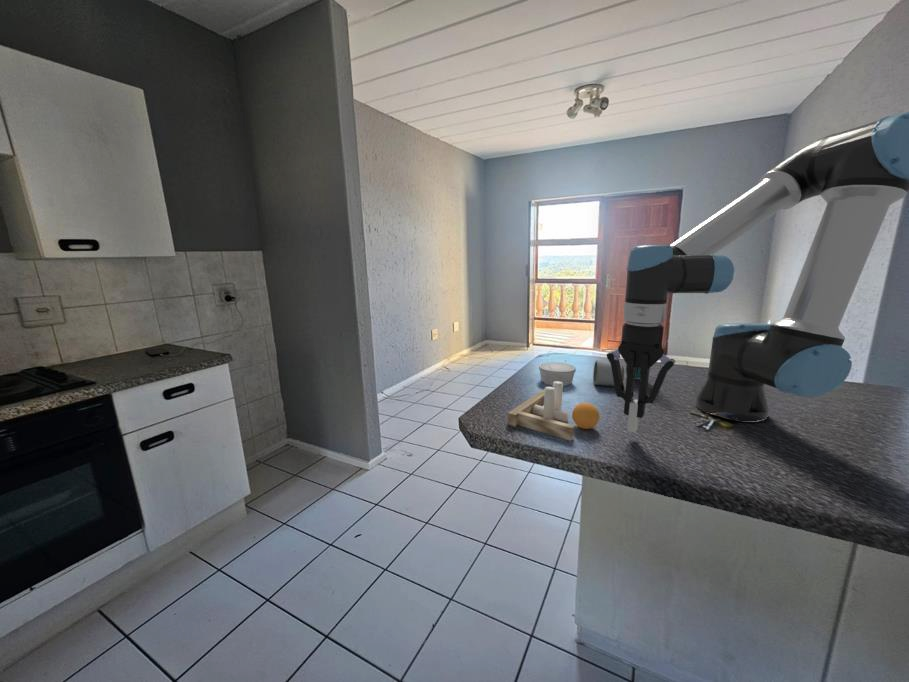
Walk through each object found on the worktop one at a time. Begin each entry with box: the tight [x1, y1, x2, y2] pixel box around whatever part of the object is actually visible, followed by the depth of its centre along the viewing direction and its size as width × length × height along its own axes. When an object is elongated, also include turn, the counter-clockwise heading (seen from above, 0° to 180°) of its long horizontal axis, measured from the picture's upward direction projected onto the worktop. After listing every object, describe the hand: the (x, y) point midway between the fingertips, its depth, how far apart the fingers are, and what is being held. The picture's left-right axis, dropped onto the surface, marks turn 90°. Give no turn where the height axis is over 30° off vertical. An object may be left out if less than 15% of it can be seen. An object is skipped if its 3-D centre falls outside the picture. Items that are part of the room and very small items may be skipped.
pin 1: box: [542, 386, 555, 420], centre depth 88 cm, size 2×2×8 cm
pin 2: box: [552, 381, 564, 411], centre depth 92 cm, size 2×2×8 cm
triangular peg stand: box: [507, 389, 575, 442], centre depth 91 cm, size 15×20×3 cm
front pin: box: [532, 405, 570, 423], centre depth 91 cm, size 2×2×8 cm
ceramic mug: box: [592, 360, 625, 387], centre depth 116 cm, size 11×8×8 cm
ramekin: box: [538, 361, 577, 387], centre depth 118 cm, size 11×11×5 cm
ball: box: [571, 402, 600, 430], centre depth 85 cm, size 6×6×6 cm
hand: (632, 429), depth 80 cm, fingers closed
